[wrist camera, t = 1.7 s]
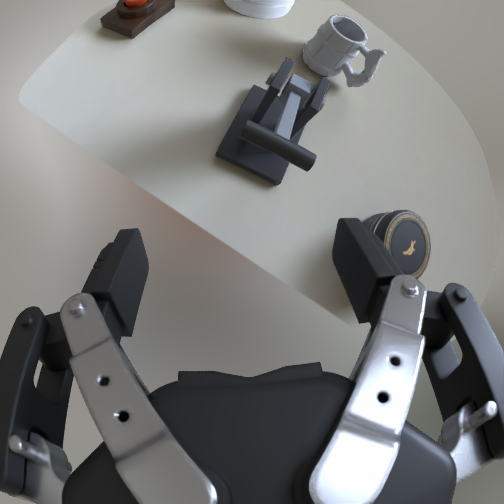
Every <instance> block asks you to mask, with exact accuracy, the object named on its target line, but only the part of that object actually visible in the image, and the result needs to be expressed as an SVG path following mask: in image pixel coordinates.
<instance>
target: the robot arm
mask: <svg viewBox="0 0 504 504" xmlns="http://www.w3.org/2000/svg"><path fill="white" fill-rule="evenodd" d="M332 258H333V263H334V265H335V267H336V270H337V272H338V274H339V276H340V279H341V281H342V283H343V286H344V288H345V290H346V293H347V295H348V297H349V300H350V302H351V305H352V307H353V309H354V312H355V314H356V317H357V319H358V322H359V324H360V323H366V322H370V324H371V328H370V330H369V333H368V335H367V338H366V340H365V343H364V345H363V348H362V350H361V353H360V355H359V357H358V360H357V362H356V364H355V367H354V369H353V371H352V373H351V375H350V377H349V378H346V377H344V376H341V375H338V374H335V373H330V372H325V371H324V372H323V371H322V367H321V363H320V362H316V363H308V364H301V365H292V366H285V367H282V368H279V369H277V370H273V371H270V372H267V373H264V374H261V375H258V376H254V377H243V376H237V375H232V374H226V373H221V372H216V371H179V373H178V381H175V382H172V383H169V384H166V385H164V386H162V387H160V388H158V389H156V390H155V391H153V392H152V393H150V392H149V390H148V389H147V387H146V386H145V385H144V383H143V382H142V380H141V379H140V377H139V375H138V374H137V372H136V370H135V369H134V367H133V366H132V364H131V362H130V360H129V359H128V357H127V355H126V354H125V352H124V350H123V348H122V347H121V345H120V340H121V336H128V337H131V336H132V333H133V329H134V324H135V320H136V316H137V312H138V308H139V305H140V300H141V297H142V293H143V290H144V286H145V282H146V279H147V275H148V270H149V265H148V258H147V255H146V251H145V248H144V244H143V241H142V237H141V233H140V231H139V229H138V228H134V229H122V230H120V231H119V232H118V234H117V236H116V238H115V240H114V242H112V243H109V244H108V245H107V246H106V247H105V248H104V249H103V250H102V251H101V252H100V254H99V256H98V258H97V261H96V262H95V264H94V266H93V269H92V270H91V272H90V274H89V276H88V278H87V281H86V283H85V285H84V287H83V289H82V291H81V293H79V294H76V295H73V296H72V297H70V298H69V299H68V300H67V301H66V302H65V303H64V304H63V306H62V308H61V311H60V312H57V313H53V314H49V315H46V316H45V315H44V314H43V312H42V311H41V310H40V308H38V307H34V306H33V307H29V308H27V309H25V310H24V311H22V312H21V313H20V314H19V316H18V317H17V318H16V321H15V323H14V325H13V327H12V330H11V332H10V335H9V337H8V340H7V342H6V345H5V347H4V350H3V353H2V356H1V359H0V491H2V492H5V493H7V494H8V495H10V496H13V497H17V498H20V499H23V500H27V501H30V502H34V503H36V504H451V503H452V498H453V494H454V490H455V486H456V483H458V482H460V481H462V480H463V479H465V478H467V477H469V476H470V475H472V474H474V473H475V472H477V471H478V470H480V469H482V468H484V467H486V466H488V465H491V464H493V463H495V462H497V461H499V460H501V459H503V458H504V352H503V350H502V348H501V346H500V344H499V342H498V340H497V338H496V336H495V334H494V332H493V330H492V328H491V327H490V325H489V323H488V321H487V319H486V318H485V316H484V314H483V312H482V311H481V309H480V307H479V306H478V304H477V302H476V301H475V299H474V297H473V296H472V294H471V293H470V292H469V290H467V289H466V288H465V287H464V286H462V285H460V284H457V283H449V284H448V285H446V287H445V289H444V290H443V292H442V293H439V292H432V291H426V289H425V287H424V285H423V284H422V283H421V282H420V281H419V280H418V279H416V278H414V277H412V276H409V275H404V274H403V272H402V271H401V269H400V267H399V266H398V264H397V263H396V261H395V260H394V258H393V257H392V255H391V254H390V253H389V251H388V249H387V248H386V247H385V246H384V244H383V242H382V241H381V239H380V238H379V237H378V236H377V235H376V234H374V233H373V232H372V231H370V230H366V229H365V227H364V226H363V224H362V223H361V222H360V220H359V219H358V218H340V219H339V220H338V223H337V229H336V234H335V239H334V244H333V250H332ZM453 335H455V337H456V339H457V341H458V343H459V345H460V347H461V350H462V354H463V357H462V361H461V363H460V361H459V359H458V356H457V354H456V352H455V350H454V348H453V345H452V343H451V341H450V339H451V338H452V336H453ZM422 359H423V362H424V364H425V367H426V370H427V372H428V375H429V378H430V381H431V384H432V387H433V389H434V392H435V396H436V398H437V402H438V405H439V408H440V411H441V415H442V418H443V422H444V423H443V426H442V429H441V434H440V436H439V437H438V443H437V442H436V441H435V440H433V439H432V438H430V437H429V436H427V435H426V434H424V433H423V432H422V431H420V430H419V429H418V428H416V427H415V426H413V425H412V424H410V423H409V422H408V421H406V420H405V419H406V416H407V413H408V410H409V406H410V403H411V400H412V396H413V392H414V389H415V385H416V382H417V378H418V374H419V370H420V365H421V361H422ZM38 360H40V361H41V362H42V363H43V364H42V368H41V372H40V375H39V379H38V383H37V387H36V388H35V386H34V380H33V379H34V374H35V370H36V367H37V363H38ZM74 376H75V379H76V381H77V384H78V386H79V389H80V391H81V394H82V396H83V398H84V400H85V403H86V405H87V407H88V409H89V412H90V414H91V416H92V418H93V420H94V422H95V424H96V426H97V428H98V430H99V432H100V434H101V435H102V437H103V440H104V441H103V442H102V443H101V444H100V445H99V446H98V448H96V449H95V450H94V451H93V452H92V453H91V454H90V455H89V456H88V457H87V458H86V459H85V461H84V462H82V463H81V464H80V465H79V467H77V469H76V470H75V471H74V472H72V474H70V473H71V471H72V466H71V464H70V463H69V462H68V458H67V456H66V454H65V452H64V451H63V438H64V430H65V422H66V415H67V409H68V403H69V396H70V392H71V387H72V382H73V377H74Z"/></svg>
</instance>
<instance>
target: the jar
mask: <svg viewBox="0 0 504 504" xmlns="http://www.w3.org/2000/svg"><path fill="white" fill-rule="evenodd" d="M362 224H363V226H364V227H365V229H366V230H370V231H372V232H373V233H374V234H376V235H377V236H378V237H379V238H380V239H381V241H382V242H383V244H384V246H385V247H386V248H387V249H388V251H389V253H390V254H391V255H392V257H393V258H394V260H395V261H396V263H397V264H398V266H399V267H400V269H401V271H402V272H403V274H404V275H409V276H412V277H414V278H416V279H418V278H419V277H420V276H421V275H422V274H423V272H424V271H425V269H426V267H427V264H428V261H429V257H430V250H431V244H430V236H429V232H428V229H427V227H426V225H425V223H424V222H423V220H422V219H421V218H420V217H419V216H418V215H417V214H415V213H414V212H412V211H408V210H396V211H391V212H387V213H380V214H376V215H373V216H371V217H370V218H368V219H367V220H365V221H364V222H363V223H362Z"/></svg>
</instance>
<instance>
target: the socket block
mask: <svg viewBox="0 0 504 504" xmlns="http://www.w3.org/2000/svg"><path fill="white" fill-rule="evenodd" d="M174 7H175V0H147V2H146V3H145V4H143V5H142V6H139V7H136V8H128V7H126V5H125V0H119V1H118V3H117V5H116V7H115V8H114V9H112V10H111V11H110V12H108V13H107V14H106V15H104V16H103V17H102V18H100V20H101V23H102V26H103V27H105V28H108V29H111V30H113V31H116V32H118V33H121V34H123V35H125V36H128V37H130V38H132V39H133V38H134V37H135V36H137V35H138V34H139V33H140V32H142V31H143V30H144V29H145V28H147V27H148V26H149V25H151V24H152V23H153V22H155V21H156V20H157V19H159V18H160V17H161V16H163V15H164V14H166V13H167V12H169V11H170V10H171V9H173V8H174Z"/></svg>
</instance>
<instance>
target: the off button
mask: <svg viewBox="0 0 504 504" xmlns="http://www.w3.org/2000/svg"><path fill="white" fill-rule="evenodd" d="M146 2H147V0H125V5H126V7H128V8H136V7H139V6H142V5H143V4H145V3H146Z"/></svg>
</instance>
